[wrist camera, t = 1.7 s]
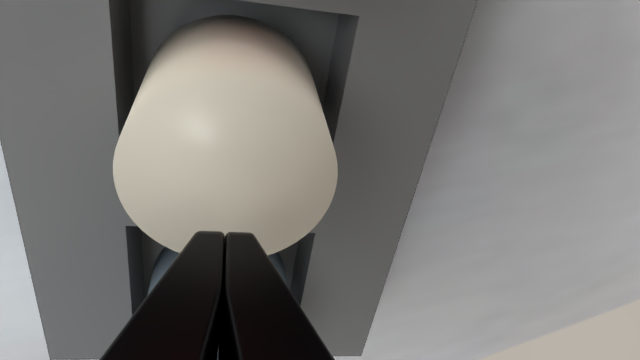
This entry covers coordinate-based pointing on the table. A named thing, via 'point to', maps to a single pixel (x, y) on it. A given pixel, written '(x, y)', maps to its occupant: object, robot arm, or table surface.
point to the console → (114, 107)
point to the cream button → (226, 138)
